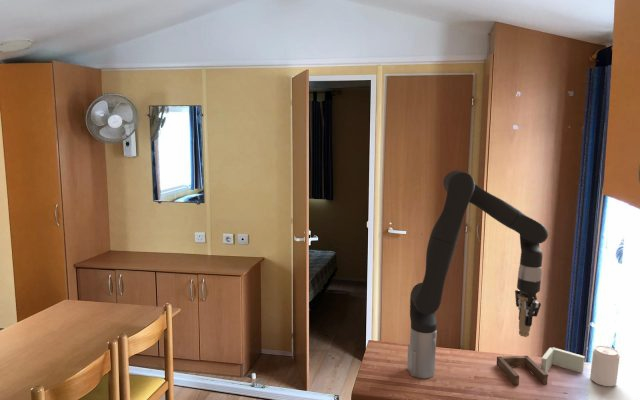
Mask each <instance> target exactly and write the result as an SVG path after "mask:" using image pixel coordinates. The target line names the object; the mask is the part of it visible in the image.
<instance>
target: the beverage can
mask: <svg viewBox="0 0 640 400" xmlns="http://www.w3.org/2000/svg"><path fill="white" fill-rule="evenodd" d="M620 358H621V357H620V355H619V351H618V350H617V349H615V348H614V347H610V346H608V345H607V346H606V345H596V346H595V348H594V349H593V351H592V359H591V365H590V366H591V368H590V375H589V377H590V379H591V381H593V382H594V383H596V384H597V385H600V386H603V387H614V386H616V385H617V382H618V381H617V380H618V373H619V365H620Z"/></svg>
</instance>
